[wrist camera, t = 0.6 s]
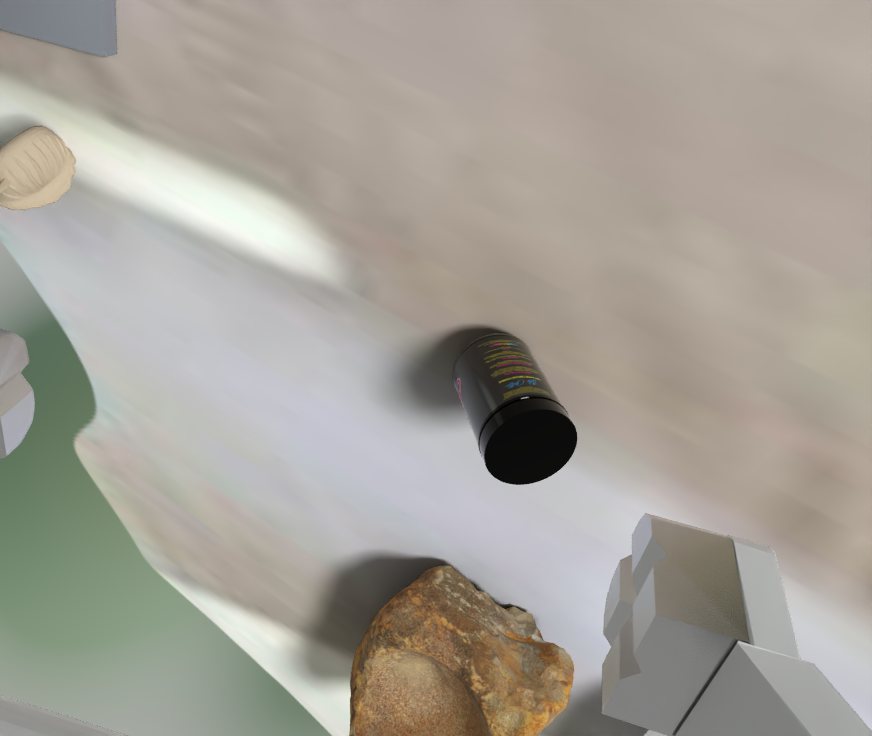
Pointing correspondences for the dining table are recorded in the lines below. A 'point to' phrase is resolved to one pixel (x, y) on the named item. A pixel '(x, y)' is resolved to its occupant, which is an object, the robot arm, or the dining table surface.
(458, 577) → the rough brown rock
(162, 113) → the dining table surface
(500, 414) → the supplement container
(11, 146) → the decorative ornament
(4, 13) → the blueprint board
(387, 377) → the dining table surface
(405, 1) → the dining table surface
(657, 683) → the robot arm
